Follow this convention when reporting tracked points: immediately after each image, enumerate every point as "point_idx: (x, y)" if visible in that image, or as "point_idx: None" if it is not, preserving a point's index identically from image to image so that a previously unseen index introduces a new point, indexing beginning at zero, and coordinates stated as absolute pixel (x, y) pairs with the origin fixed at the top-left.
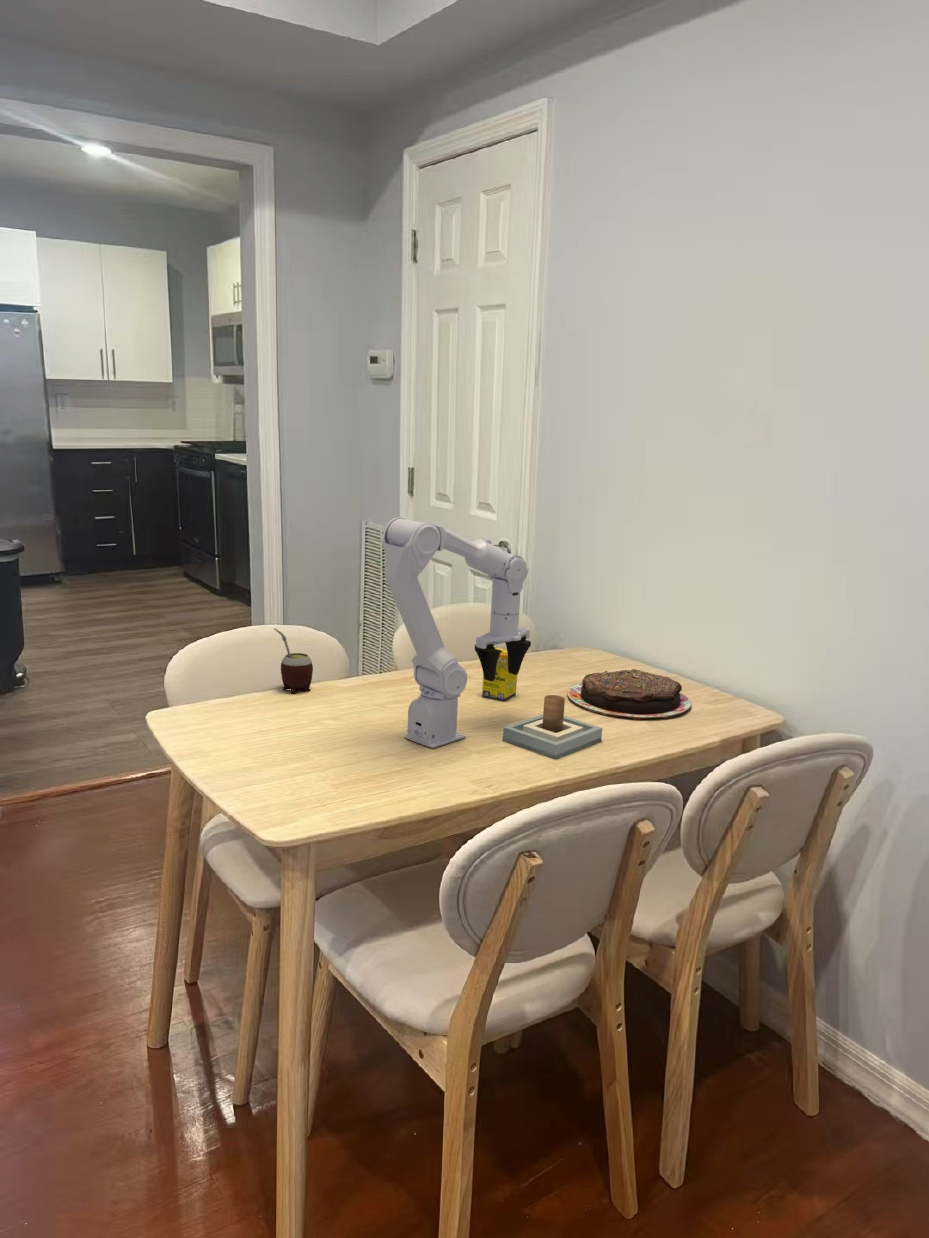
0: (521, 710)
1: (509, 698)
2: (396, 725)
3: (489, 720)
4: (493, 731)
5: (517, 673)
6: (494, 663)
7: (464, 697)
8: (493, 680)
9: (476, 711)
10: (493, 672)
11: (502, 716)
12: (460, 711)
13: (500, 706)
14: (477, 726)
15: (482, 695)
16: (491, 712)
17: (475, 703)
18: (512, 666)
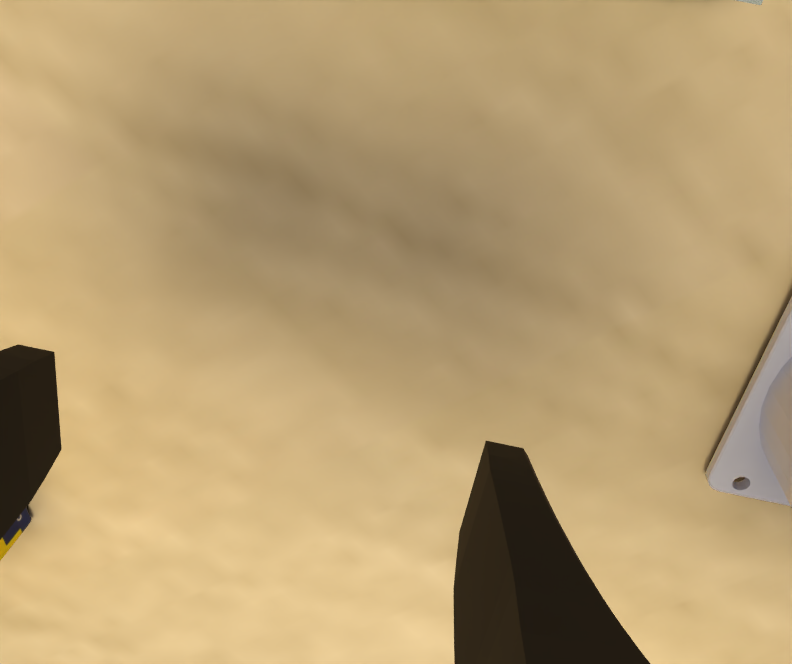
0: (14, 231)
1: None
2: (780, 639)
3: (356, 302)
4: (550, 168)
5: (24, 351)
6: (591, 634)
7: (117, 578)
8: (496, 446)
9: (265, 437)
10: (549, 520)
11: (221, 273)
12: (335, 502)
13: (70, 372)
14: (520, 307)
15: (28, 523)
16: (210, 363)
17: (150, 499)
18: (2, 467)
